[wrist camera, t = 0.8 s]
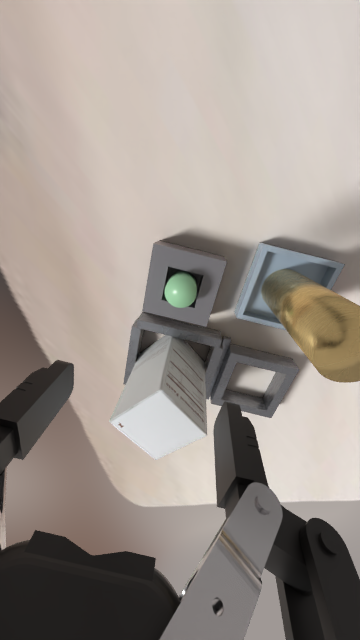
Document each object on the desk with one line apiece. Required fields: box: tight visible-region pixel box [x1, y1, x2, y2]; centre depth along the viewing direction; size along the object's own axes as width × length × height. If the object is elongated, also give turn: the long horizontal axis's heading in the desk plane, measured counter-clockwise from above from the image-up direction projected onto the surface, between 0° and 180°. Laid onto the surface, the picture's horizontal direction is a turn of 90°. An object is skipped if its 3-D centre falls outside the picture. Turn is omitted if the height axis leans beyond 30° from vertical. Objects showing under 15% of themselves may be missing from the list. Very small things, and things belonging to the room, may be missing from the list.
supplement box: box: [109, 335, 207, 460], centre depth 27 cm, size 7×7×13 cm
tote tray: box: [234, 243, 345, 330], centre depth 26 cm, size 9×9×2 cm
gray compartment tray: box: [124, 312, 299, 418], centre depth 32 cm, size 12×23×2 cm, turn 77°
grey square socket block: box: [142, 241, 227, 327], centre depth 26 cm, size 8×8×4 cm
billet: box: [261, 269, 360, 382], centre depth 20 cm, size 5×5×14 cm
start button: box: [165, 271, 197, 308], centre depth 24 cm, size 3×3×3 cm
